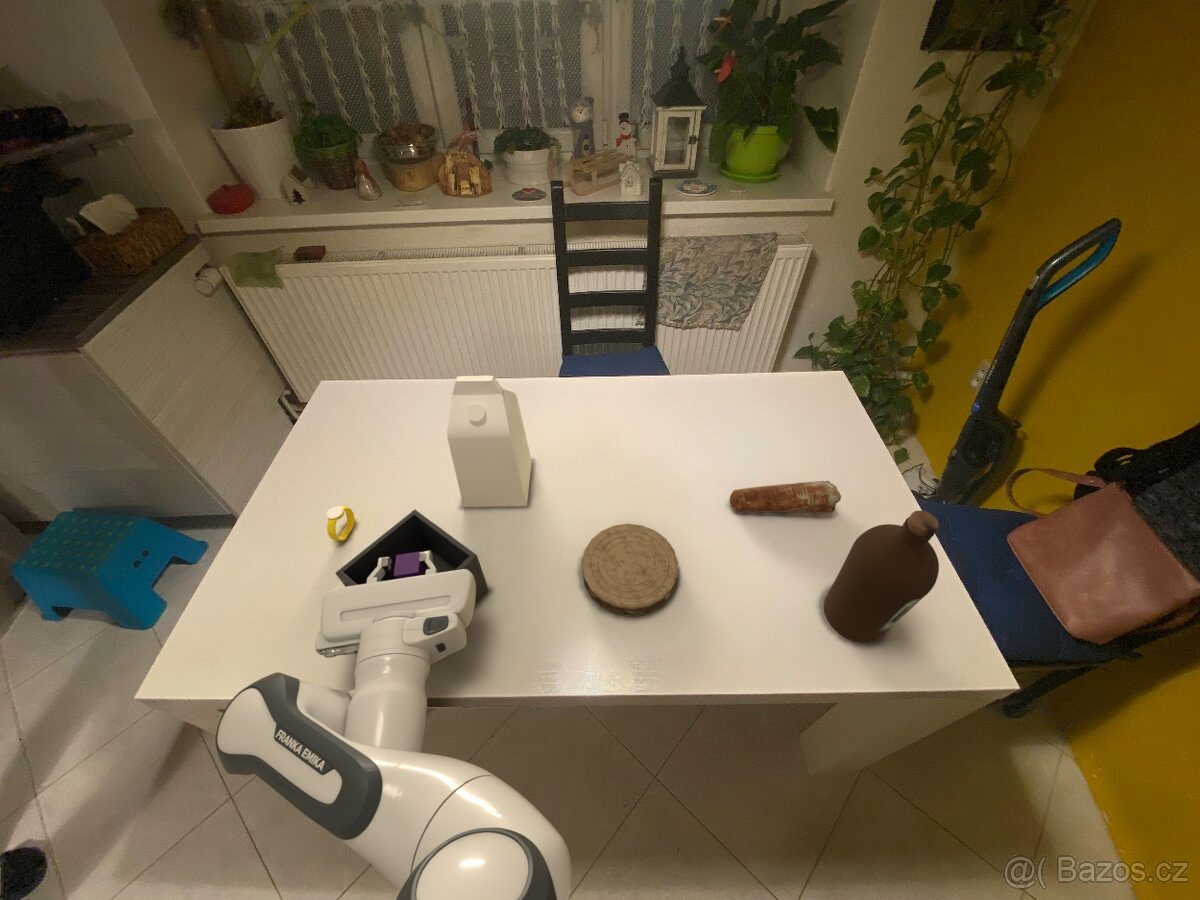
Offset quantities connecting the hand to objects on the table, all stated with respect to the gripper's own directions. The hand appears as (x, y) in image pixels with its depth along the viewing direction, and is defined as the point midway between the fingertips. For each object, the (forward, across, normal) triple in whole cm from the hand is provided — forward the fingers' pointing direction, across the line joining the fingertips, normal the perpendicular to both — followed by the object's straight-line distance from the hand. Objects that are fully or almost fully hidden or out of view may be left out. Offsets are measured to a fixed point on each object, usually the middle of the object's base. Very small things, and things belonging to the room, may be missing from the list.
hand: (406, 556), depth 75 cm
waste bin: (-1, 0, -12) cm, 12 cm away
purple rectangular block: (-1, 0, -11) cm, 11 cm away
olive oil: (-15, +68, -12) cm, 70 cm away
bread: (+7, +65, -12) cm, 66 cm away
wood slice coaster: (-2, +34, -12) cm, 36 cm away
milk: (+22, +13, -12) cm, 28 cm away
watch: (+15, -15, -12) cm, 24 cm away
